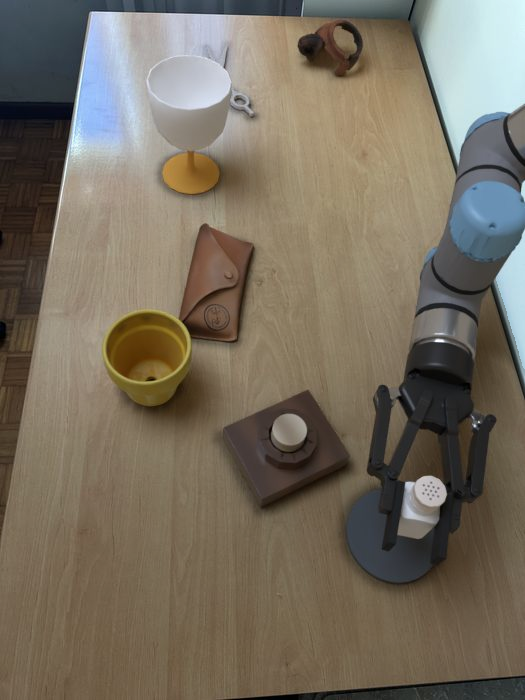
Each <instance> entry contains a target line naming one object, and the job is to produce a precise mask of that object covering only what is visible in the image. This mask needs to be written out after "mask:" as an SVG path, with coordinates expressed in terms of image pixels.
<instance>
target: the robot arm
mask: <svg viewBox="0 0 525 700" xmlns="http://www.w3.org/2000/svg"><path fill="white" fill-rule="evenodd" d="M524 182H525V103H523V104H522V105H520V106H519V107H516V109H515V110H512V112H506V111H496V112H492V113H485V114H482V115H481V116H480V117H478V118H477V119H476V120H474V121H473V122H472V123H471V125H470V126H469V127H468V129H467V131H466V134H465V136H464V140H463V143H462V144H461V146H460V151H459V159H458V165H457V170H456V176H455V182H454V186H453V191H452V195H451V200H450V204H449V210H448V213H447V219H446V224H445V227H444V231H443V232H442V236H441V238H440V240H439V242H438V244H437V246H435V247H433V248H431V249H430V250H429V251H428V252H427V253H426V255H425V258H424V262H423V266H422V269H421V270H420V274H419V289H418V296H417V301H416V305H415V313H414V318H413V324H412V330H411V335H410V340H409V345H408V353H407V357H406V362H405V369H404V373H403V381H402V382H401V383H400V385H399V386H398V387H388V386H387V385H385V384H380V385H378V386H377V389H376V391H375V392H374V394H373V396H372V401H373V407H374V412H375V417H374V423H373V427H372V428H373V429H372V434H371V440H370V448H369V454H368V458H367V465H366V473H367V474H368V475H369V476H370V477H375V478H377V479H378V480H379V481H380V486H381V488H380V489H381V494H380V500H379V506H378V509H379V513H382V514H385V515H387V520H386V525H385V531H384V537H383V543H382V550H385V551H388V552H389V551H390V550H391V549H392V548H393V547H394V546H395V545H396V540H397V534H398V527H399V521H400V514H401V508H402V502H403V495H404V489H405V482H406V481H403V480H399V479H398V478H399V477H400V474H401V472H402V470H403V468H404V465H405V463H406V460H407V458H408V456H409V453H410V451H411V448H412V447H413V444H414V442H415V439H416V436H417V435H418V432H419V430H422V431H423V430H424V431H425V430H426V431H429V432H432V433H434V434H435V435H437V443H438V445H439V447H440V458H441V467H442V468H441V469H442V477H443V484H444V485H445V488H446V492H447V496H446V499H445V502H444V503H443V504H442V505H441V506H440V515H439V521H438V523H437V524H436V525H435V528H434V536H433V544H432V552H431V560H430V564H433V566H439V565H441V564H442V563H443V562H444V561H446V560H447V555H448V548H449V547H448V546H449V538H450V534H454V533H456V532H457V531H458V529H459V528H460V525H461V517H462V508H463V503H465V504H473V503H474V502H475V501H476V500H478V499H479V498H480V497H481V496H482V495H483V493H484V492H483V491H484V483H485V474H486V465H487V458H488V450H489V449H488V448H489V441H490V433H491V432H492V430H493V429H494V427H495V425H496V424H497V421H498V419H497V417H496V416H495V415H494V414H492V413H488V414H487V415H485V414H484V413H482V412H480V411H479V410H477V409H475V404H474V401H473V398H472V388H473V379H474V370H475V368H474V367H475V359H476V353H477V344H478V343H477V342H478V332H479V322H480V314H481V307H482V306H481V305H482V302H483V300H484V298H485V296H486V295H487V293H488V291H489V290H490V288H491V287H492V285H493V283H494V281H495V280H496V278H497V276H498V274H499V273H500V272H501V270H502V268H503V267H504V266H505V264H506V262H507V261H508V259H509V258H510V256H511V255H512V253H513V252H514V251H515V250H516V247H517V246H519V244H520V243H521V241H522V238H523V233H524V231H525V198H524V196H523V195H522V188H523V183H524ZM397 401H398V402H399V404H400V407H401V409H402V410H403V412H404V414H405V416H406V417H407V421H406V423H405V425H404V428H403V430H402V433H401V435H400V438H399V440H398V442H397V445H396V447H395V449H394V451H393V454H392V456H391V458H390V460H389V463H388V464H386V463H384V462H385V455H386V448H387V442H388V435H389V429H390V423H391V416H392V409H393V408H394V407H395V404H396V402H397ZM466 420H468V421H469V431H470V432H471V433H472V435H471V438H470V441H469V446H468V447H469V448H468V456H467V462H466V463H467V464H466V470H465V478H464V474H463V466H462V457H461V447H460V439H459V435H460V425H461V424H462V423H463V422H464V421H466Z"/></svg>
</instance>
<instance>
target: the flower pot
mask: <svg viewBox="0 0 525 700" xmlns="http://www.w3.org/2000/svg"><path fill="white" fill-rule="evenodd" d="M192 344H193V343H192V337H190V334H189V332H188V330H187V328H186V327H185V325H184V324H183V323H182V322H181V321H180V320H179V317H176V316H175V315H173V314H172V313H170V312H167V311H165V310H160V309H155V308H154V309H153V308H142V309H137V310H133V311H130V312H128V313H126V314H124V315H122V316H120V317H119V318H117V320H115V321H114V322H113V323H112V324H111V325H110V327H109V328H108V330H107V331H106V333H105V334H104V337H103V340H102V346H101V354H102V360H103V364H104V368H105V370H106V373H107V375H108V377H109V379H110V380H111V381H112V382H113V384H115V385H116V386H117V387H118V388H119V389H121V390H122V391H124V392H125V393H126V394H127V395H128V397H129V398H130V400H131V401H133V402H135V403H136V404H138V405H141V406H144V407H156V406H161V405H163V404H165V403H167V402H168V401H169V400H170V399H171V398H172V397H173V396H174V395H175V393H176V391H177V389H178V386H179V384H181V382H183V380H184V379H185V378H186V376H187V374H188V373H189V370H190V368H191V363H192V357H193V355H192V354H193V345H192Z"/></svg>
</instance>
